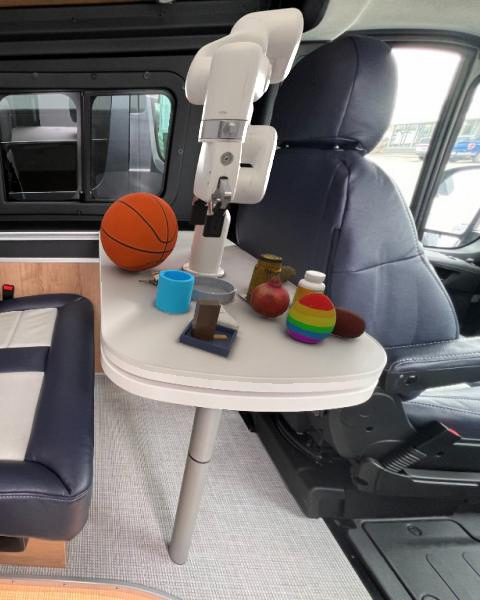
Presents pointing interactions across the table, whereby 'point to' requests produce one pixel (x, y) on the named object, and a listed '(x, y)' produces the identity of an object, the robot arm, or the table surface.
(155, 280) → the computer mouse
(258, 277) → the condiment
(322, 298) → the decorative egg
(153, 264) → the basket ball
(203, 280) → the bowl
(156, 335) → the table surface
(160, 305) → the mug
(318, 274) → the supplement bottle
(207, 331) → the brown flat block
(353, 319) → the potato
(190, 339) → the tray
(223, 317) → the gaming controller
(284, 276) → the hand grenade
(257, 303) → the fruit
